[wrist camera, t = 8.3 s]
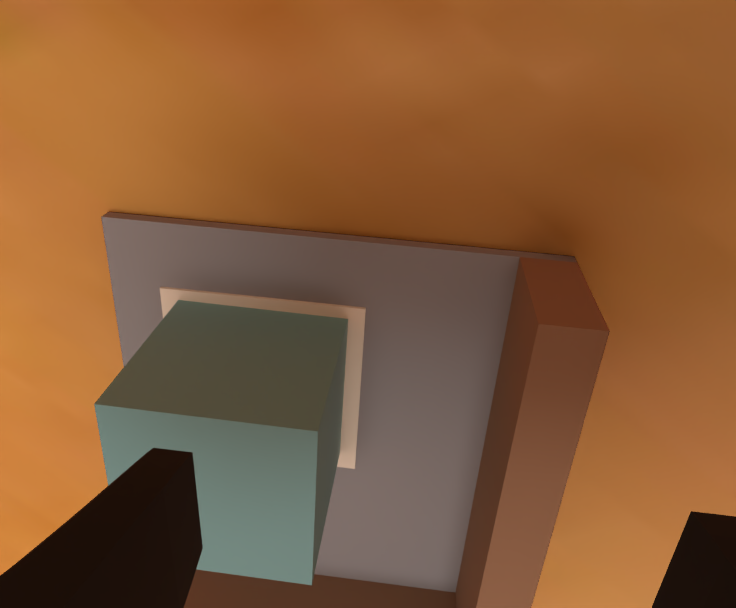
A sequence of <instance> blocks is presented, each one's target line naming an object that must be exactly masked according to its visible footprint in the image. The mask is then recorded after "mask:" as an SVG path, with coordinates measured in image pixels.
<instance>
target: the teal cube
mask: <svg viewBox="0 0 736 608" xmlns="http://www.w3.org/2000/svg"><path fill="white" fill-rule="evenodd" d="M347 332H348V319H345V318H336V317H327V316H318V315H309V314H300V313H291V312H282V311H273V310H264V309H255V308H246V307H238V306H229V305H220V304H211V303H202V302H193V301H184V300H178V301H177V302H176V303H175V305H174V306H173V307H172V308H171V309H170V311H169V312H168V313H167V314H166V316H165V317H164V318H163V319H162V321H161V322H160V323H159V324H158V326H157V327H156V328H155V329H154V331H153V332H152V333H151V334H150V336H149V337H148V338H147V339H146V341H145V342H144V343H143V344H142V346H141V347H140V348H139V349H138V350H137V352H136V353H135V354H134V355H133V357H132V358H131V359H130V360H129V362H128V363H127V364H126V365H125V367H124V368H123V369H122V370H121V372H120V373H119V374H118V375H117V377H116V378H115V379H114V380H113V382H112V383H111V384H110V385H109V386H108V388H107V389H106V390H105V391H104V393H103V394H102V395H101V396H100V398H99V399H98V400H97V401H96V403H95V404H94V405H95V411H96V417H97V422H98V428H99V434H100V440H101V446H102V451H103V457H104V463H105V469H106V474H107V480H108V486H109V485H110V484H111V483H112V482H113V481H114V480H116V479H117V478H118V477H119V476H120V475H121V474H122V473H124V472H125V471H126V470H127V469H128V468H129V467H130V466H132V465H133V464H134V463H135V462H136V461H138V460H139V459H140V458H141V457H142V456H143V455H145V454H146V453H147V452H148V451H150V450H151V449H152V448H160V449H169V450H177V451H186V452H193V461H194V471H195V480H196V489H197V499H198V508H199V517H200V526H201V536H202V545H203V549H202V552H201V556H200V559H199V562H198V565H197V568H196V569H197V570H204V571H212V572H219V573H226V574H233V575H241V576H248V577H255V578H263V579H270V580H277V581H284V582H292V583H299V584H306V585H312V582H313V578H314V573H315V568H316V564H317V559H318V554H319V549H320V545H321V540H322V535H323V530H324V526H325V521H326V516H327V511H328V507H329V502H330V497H331V492H332V488H333V483H334V478H335V474H336V469H337V464H338V459H339V455H340V444H341V428H342V412H343V396H344V380H345V364H346V348H347Z"/></svg>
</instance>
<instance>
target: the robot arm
mask: <svg viewBox="0 0 736 608" xmlns="http://www.w3.org/2000/svg"><path fill="white" fill-rule="evenodd" d="M202 549H203V545H202V536H201V526H200V517H199V508H198V499H197V489H196V480H195V471H194V461H193V452H186V451H177V450H169V449H160V448H152V449H151V450H150V451H148V452H147V453H146V454H145V455H143V456H142V457H141V458H140V459H139V460H138V461H136V462H135V463H134V464H133V465H132V466H130V467H129V468H128V469H127V470H126V471H125V472H124V473H122V474H121V475H120V476H119V477H118V478H117V479H116V480H114V481H113V482H112V483H111V484H110V485H109V486H108V487H106V488H105V489H104V490H103V491H102V492H101V493H99V494H98V495H97V496H96V497H95V498H94V499H93V500H91V501H90V502H89V503H88V504H87V505H86V506H84V507H83V508H82V509H81V510H80V511H79V512H77V513H76V514H75V515H74V516H73V517H72V518H70V519H69V520H68V521H67V522H66V523H64V524H63V525H62V526H61V527H60V528H58V529H57V530H56V531H55V532H53V533H52V534H51V535H50V536H49V537H47V538H46V539H45V540H44V541H43V542H41V543H40V544H39V545H38V546H37V547H35V548H34V549H33V550H32V551H31V552H29V553H28V554H27V555H26V556H25V557H23V558H22V559H21V560H20V561H18V562H17V563H16V564H15V565H13V566H12V567H11V568H10V569H8V570H7V571H6V572H4V573H3V574H2V575H0V608H184V605H185V602H186V599H187V596H188V593H189V590H190V587H191V584H192V581H193V578H194V575H195V572H196V568H197V565H198V562H199V559H200V556H201V552H202ZM652 608H736V517H734V516H726V515H717V514H709V513H700V512H692V511H691V513H690V515H689V518H688V520H687V523H686V525H685V528H684V530H683V532H682V535H681V537H680V540H679V542H678V545H677V547H676V550H675V552H674V554H673V557H672V559H671V562H670V564H669V567H668V569H667V571H666V574H665V576H664V579H663V581H662V584H661V586H660V588H659V591H658V593H657V596H656V598H655V601H654V603H653V605H652Z"/></svg>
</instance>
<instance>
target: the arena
mask: <svg viewBox="0 0 736 608" xmlns="http://www.w3.org/2000/svg"><path fill="white" fill-rule="evenodd" d="M101 218H102V224H103V231H104V238H105V244H106V251H107V257H108V264H109V271H110V277H111V284H112V291H113V297H114V304H115V311H116V317H117V324H118V331H119V337H120V344H121V351H122V357H123V364H124V367H125V365H126V364H127V363H128V362H129V360H130V359H131V358H132V357H133V355H134V354H135V353H136V352H137V350H138V349H139V348H140V347H141V346H142V344H143V343H144V342H145V341H146V339H147V338H148V337H149V336H150V334H151V333H152V332H153V331H154V329H155V328H156V327H157V326H158V324H159V323H160V322H161V321H162V319H163V318H164V317H165V316H166V314H167V313H168V312H169V311H170V309H171V308H172V307H173V306H174V305H175V303H176V302H177V301H178V300H184V301H193V302H202V303H211V304H220V305H229V306H238V307H246V308H255V309H264V310H273V311H282V312H291V313H300V314H309V315H318V316H327V317H336V318H345V319H348V332H347V348H346V364H345V380H344V396H343V412H342V428H341V444H340V455H339V459H338V464H337V469H336V474H335V478H334V483H333V488H332V492H331V497H330V502H329V507H328V511H327V516H326V521H325V526H324V530H323V535H322V540H321V545H320V549H319V554H318V559H317V564H316V568H315V573H314V578H313V582H312V585H306V584H299V583H292V582H284V581H277V580H270V579H263V578H255V577H248V576H241V575H233V574H226V573H219V572H212V571H204V570H197V569H196V572H195V575H194V578H193V581H192V584H191V587H190V590H189V593H188V596H187V599H186V602H185V605H184V608H531V606H532V603H533V599H534V596H535V592H536V589H537V585H538V582H539V578H540V575H541V571H542V567H543V564H544V560H545V557H546V553H547V550H548V546H549V543H550V539H551V536H552V532H553V529H554V525H555V522H556V518H557V515H558V511H559V508H560V504H561V501H562V497H563V493H564V490H565V486H566V483H567V479H568V476H569V472H570V469H571V465H572V462H573V458H574V455H575V451H576V448H577V444H578V441H579V437H580V434H581V430H582V427H583V423H584V419H585V416H586V412H587V409H588V405H589V402H590V398H591V395H592V391H593V388H594V384H595V381H596V377H597V374H598V370H599V367H600V363H601V360H602V356H603V353H604V349H605V345H606V342H607V338H608V335H609V329H608V327H607V325H606V323H605V321H604V319H603V316H602V314H601V312H600V310H599V308H598V306H597V304H596V302H595V299H594V297H593V295H592V293H591V291H590V289H589V287H588V285H587V282H586V280H585V278H584V276H583V274H582V272H581V270H580V268H579V265H578V263H577V261H576V259H575V257H574V256H564V255H554V254H543V253H533V252H522V251H512V250H501V249H491V248H480V247H470V246H459V245H449V244H438V243H428V242H418V241H407V240H397V239H386V238H376V237H365V236H355V235H344V234H334V233H323V232H313V231H302V230H292V229H282V228H271V227H261V226H250V225H240V224H229V223H219V222H208V221H198V220H187V219H177V218H166V217H156V216H145V215H135V214H125V213H114V212H107V213H106V214H105V215H103V216H102V217H101Z"/></svg>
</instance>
